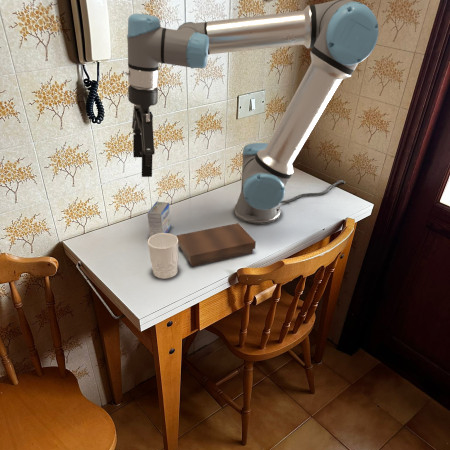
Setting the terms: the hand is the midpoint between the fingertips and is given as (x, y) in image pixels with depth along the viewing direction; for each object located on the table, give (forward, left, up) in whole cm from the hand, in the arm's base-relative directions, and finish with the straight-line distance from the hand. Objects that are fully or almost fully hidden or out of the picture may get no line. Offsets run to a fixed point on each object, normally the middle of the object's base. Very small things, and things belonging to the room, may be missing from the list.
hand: (142, 166), depth 126 cm
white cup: (+2, +23, -21) cm, 32 cm away
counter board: (-15, +18, -21) cm, 32 cm away
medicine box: (-3, +2, -21) cm, 22 cm away
